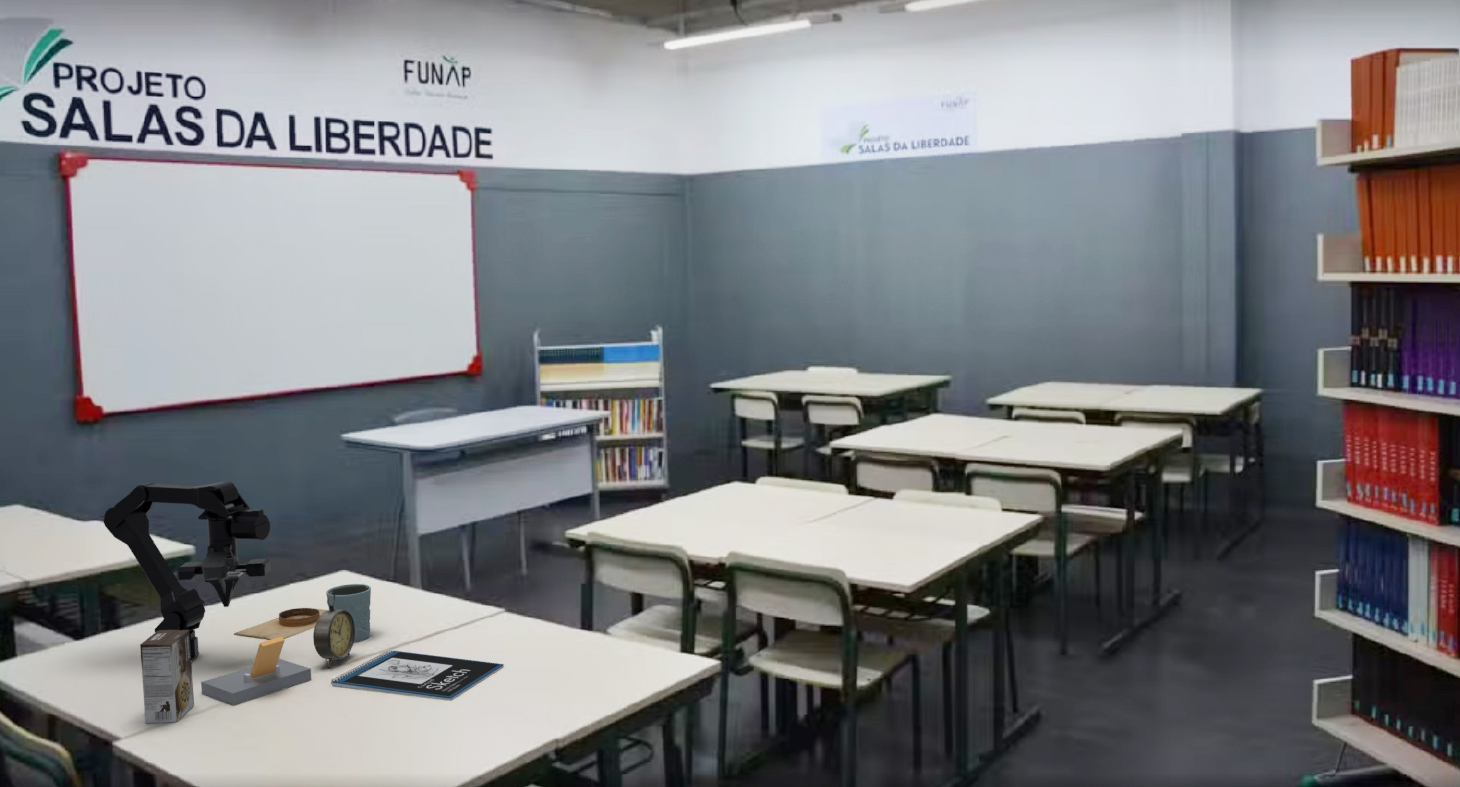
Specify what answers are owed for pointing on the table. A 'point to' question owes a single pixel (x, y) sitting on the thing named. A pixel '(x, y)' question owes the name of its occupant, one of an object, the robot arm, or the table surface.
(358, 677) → the sketchbook
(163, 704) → the coffee box
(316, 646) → the alarm clock
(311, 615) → the board
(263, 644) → the orange foam slab
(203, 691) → the switch panel
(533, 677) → the table surface
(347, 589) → the blue-grey cylinder
